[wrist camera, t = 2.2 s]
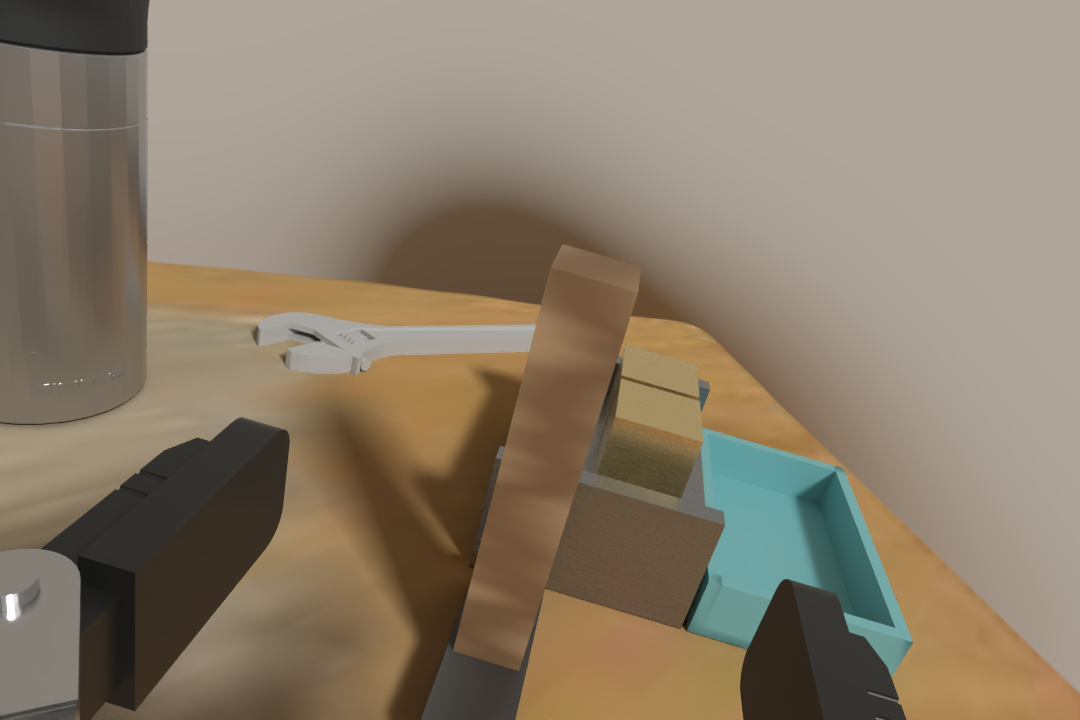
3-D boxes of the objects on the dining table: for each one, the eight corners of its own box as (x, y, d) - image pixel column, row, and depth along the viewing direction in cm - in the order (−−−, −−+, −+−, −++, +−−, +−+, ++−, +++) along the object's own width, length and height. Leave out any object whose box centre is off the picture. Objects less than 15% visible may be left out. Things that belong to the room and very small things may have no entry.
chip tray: (687, 631, 33) (708, 581, 32) (682, 466, 46) (697, 426, 45) (883, 690, 33) (912, 642, 32) (823, 507, 45) (843, 468, 44)
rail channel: (468, 565, 34) (495, 457, 31) (523, 420, 46) (545, 335, 44) (680, 628, 33) (725, 525, 31) (677, 465, 46) (708, 382, 43)
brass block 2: (592, 488, 34) (615, 416, 33) (599, 445, 38) (620, 378, 36) (675, 513, 34) (703, 441, 32) (674, 467, 38) (699, 401, 36)
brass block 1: (600, 441, 38) (621, 375, 37) (605, 406, 42) (625, 344, 40) (674, 463, 38) (699, 397, 36) (674, 426, 42) (696, 364, 40)
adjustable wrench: (576, 340, 61) (582, 321, 60) (614, 379, 56) (620, 359, 55) (255, 332, 49) (257, 308, 48) (268, 381, 44) (270, 355, 44)
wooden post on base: (409, 764, 25) (520, 303, 17) (473, 583, 33) (567, 218, 26) (495, 791, 25) (643, 338, 17) (538, 603, 33) (651, 241, 25)
